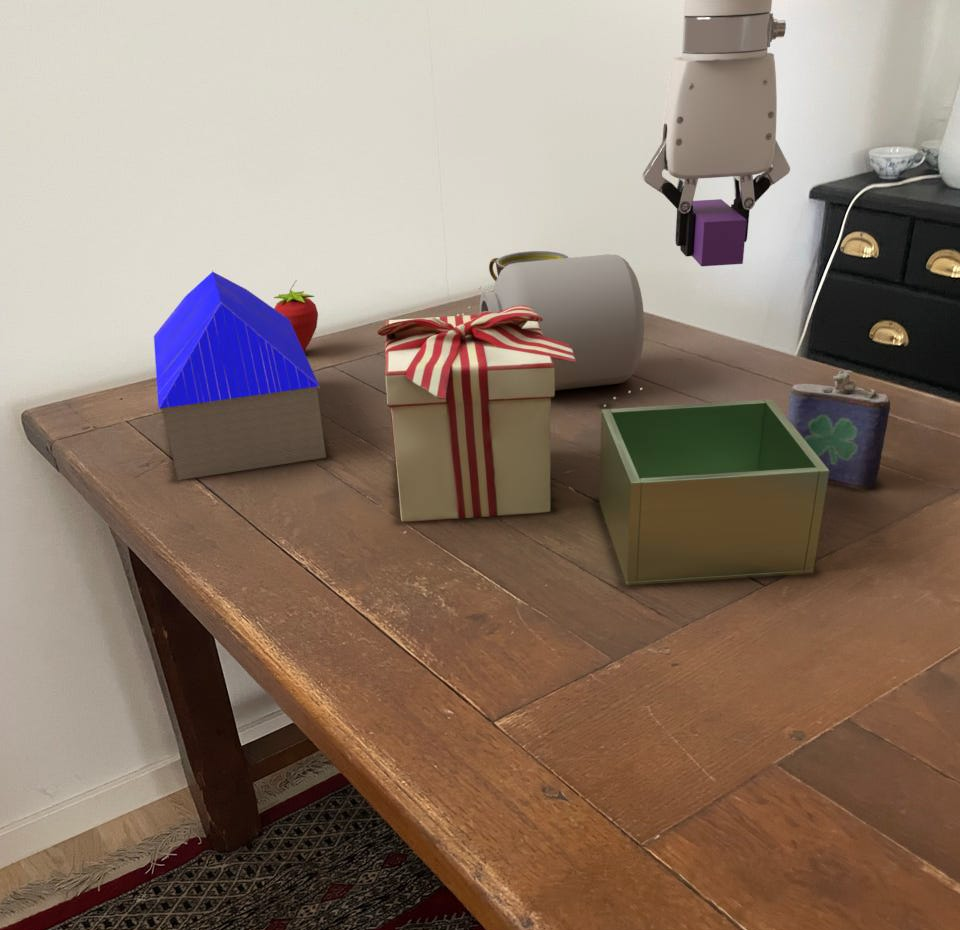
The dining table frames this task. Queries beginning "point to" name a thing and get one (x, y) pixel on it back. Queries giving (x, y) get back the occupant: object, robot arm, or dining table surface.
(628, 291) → the jar
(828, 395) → the flask
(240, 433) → the house
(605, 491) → the open box
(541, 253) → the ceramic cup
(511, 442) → the gift box
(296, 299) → the strawberry
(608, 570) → the dining table surface
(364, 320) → the dining table surface
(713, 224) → the purple block
